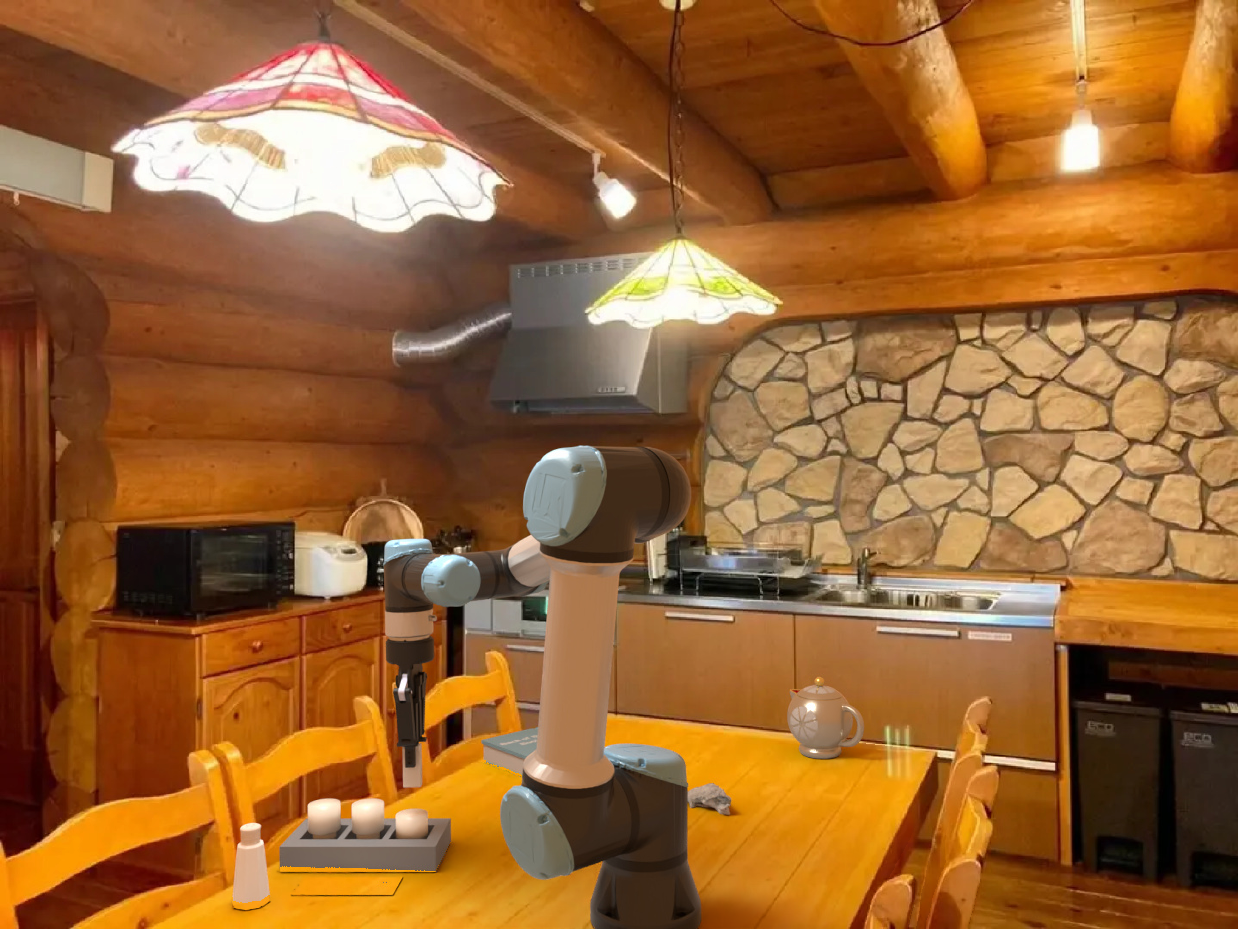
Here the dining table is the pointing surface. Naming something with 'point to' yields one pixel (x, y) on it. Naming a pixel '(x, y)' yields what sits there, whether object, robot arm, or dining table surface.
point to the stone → (710, 798)
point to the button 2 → (412, 824)
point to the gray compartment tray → (368, 848)
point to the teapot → (822, 720)
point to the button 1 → (324, 818)
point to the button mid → (368, 818)
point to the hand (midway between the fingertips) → (412, 785)
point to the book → (510, 749)
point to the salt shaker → (250, 866)
